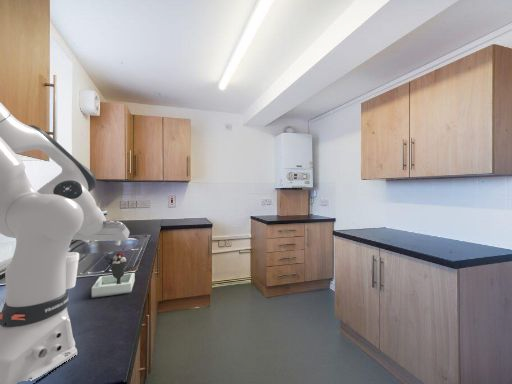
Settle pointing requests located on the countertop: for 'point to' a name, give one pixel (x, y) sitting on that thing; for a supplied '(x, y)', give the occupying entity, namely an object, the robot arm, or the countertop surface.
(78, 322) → the countertop surface
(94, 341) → the countertop surface
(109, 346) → the countertop surface
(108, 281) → the bin
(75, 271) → the foam cup
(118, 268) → the sundae
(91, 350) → the countertop surface
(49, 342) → the robot arm
